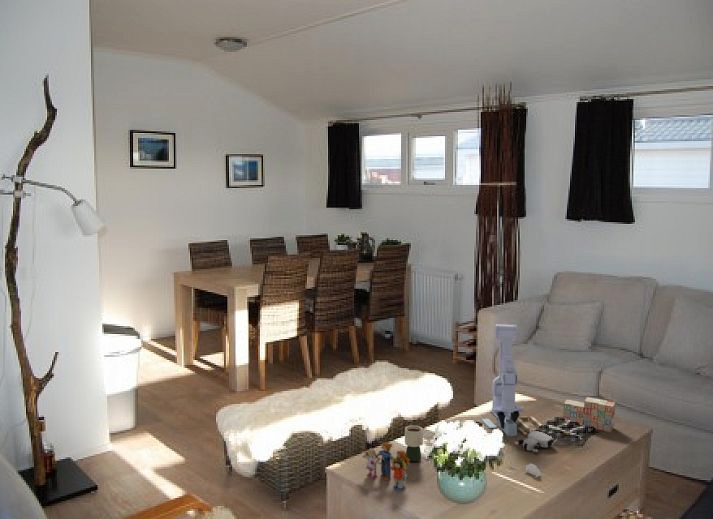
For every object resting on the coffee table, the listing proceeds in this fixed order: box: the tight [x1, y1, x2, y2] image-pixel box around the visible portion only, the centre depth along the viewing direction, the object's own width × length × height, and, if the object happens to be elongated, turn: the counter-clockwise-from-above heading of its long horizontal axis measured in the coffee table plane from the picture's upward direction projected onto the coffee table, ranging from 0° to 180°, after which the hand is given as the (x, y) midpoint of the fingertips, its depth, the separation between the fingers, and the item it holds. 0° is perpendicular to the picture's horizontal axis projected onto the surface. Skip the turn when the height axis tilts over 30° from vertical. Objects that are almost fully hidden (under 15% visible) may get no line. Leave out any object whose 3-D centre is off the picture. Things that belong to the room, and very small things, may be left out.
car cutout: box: [507, 463, 541, 478], centre depth 244 cm, size 15×7×4 cm, turn 42°
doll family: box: [362, 441, 411, 492], centre depth 235 cm, size 21×10×13 cm, turn 46°
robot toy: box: [514, 430, 558, 453], centre depth 266 cm, size 12×4×15 cm
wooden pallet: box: [515, 415, 543, 437], centre depth 285 cm, size 16×12×3 cm
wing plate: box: [480, 418, 498, 429], centre depth 290 cm, size 10×4×1 cm, turn 11°
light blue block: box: [497, 415, 518, 437], centre depth 283 cm, size 12×4×6 cm, turn 9°
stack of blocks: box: [562, 396, 616, 433], centre depth 290 cm, size 21×6×12 cm, turn 57°
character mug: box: [404, 425, 424, 462], centre depth 252 cm, size 11×7×13 cm, turn 34°
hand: (507, 427), depth 283 cm, fingers closed on light blue block, 4 cm apart
